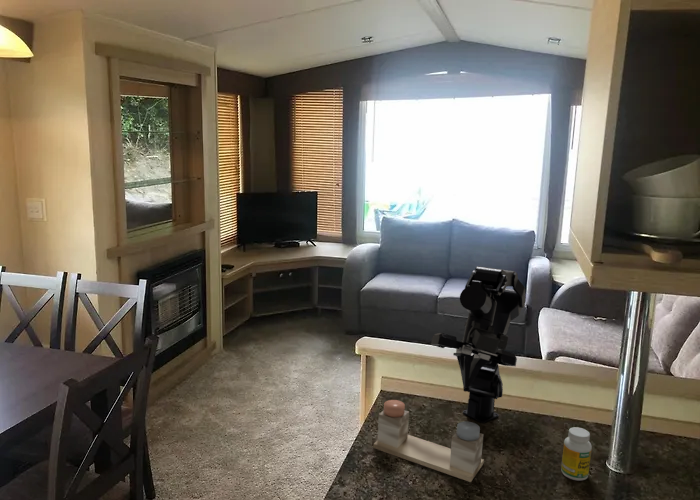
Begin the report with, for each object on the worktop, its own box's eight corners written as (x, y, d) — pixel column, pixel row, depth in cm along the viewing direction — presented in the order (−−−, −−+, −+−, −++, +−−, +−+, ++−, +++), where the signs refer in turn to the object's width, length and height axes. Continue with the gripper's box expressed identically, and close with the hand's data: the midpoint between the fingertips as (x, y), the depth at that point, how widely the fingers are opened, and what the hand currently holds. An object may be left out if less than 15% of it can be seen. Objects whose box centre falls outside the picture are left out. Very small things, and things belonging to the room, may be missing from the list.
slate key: (460, 434, 121) (461, 419, 120) (481, 440, 119) (482, 425, 118) (452, 443, 117) (453, 428, 116) (474, 450, 115) (475, 434, 114)
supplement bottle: (571, 464, 122) (576, 422, 120) (593, 476, 118) (599, 434, 116) (555, 471, 119) (560, 429, 117) (577, 484, 115) (583, 441, 113)
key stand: (390, 432, 132) (391, 402, 131) (483, 463, 121) (486, 431, 119) (373, 447, 126) (374, 416, 124) (470, 482, 114) (473, 448, 113)
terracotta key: (389, 411, 129) (390, 398, 129) (407, 417, 127) (408, 403, 126) (379, 420, 126) (380, 405, 125) (398, 425, 123) (399, 411, 123)
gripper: (454, 306, 122) (438, 378, 118) (534, 329, 124) (520, 401, 120) (438, 310, 132) (422, 376, 129) (511, 331, 135) (498, 397, 131)
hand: (465, 387), depth 127 cm, fingers closed
